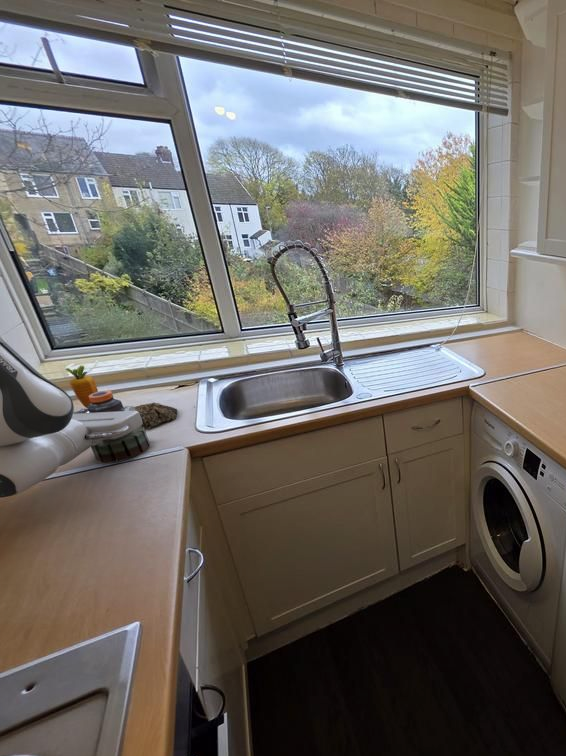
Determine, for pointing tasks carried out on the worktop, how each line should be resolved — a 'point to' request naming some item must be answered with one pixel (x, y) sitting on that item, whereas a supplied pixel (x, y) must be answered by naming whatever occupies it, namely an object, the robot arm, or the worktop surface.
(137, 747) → the worktop surface
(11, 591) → the worktop surface
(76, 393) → the carrot
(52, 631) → the worktop surface
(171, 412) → the bread roll
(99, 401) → the pill bottle
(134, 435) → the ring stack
